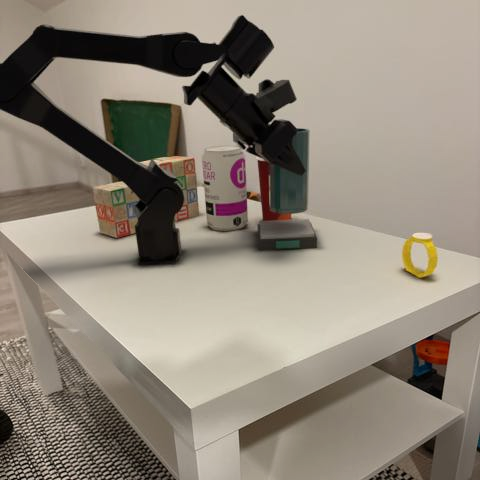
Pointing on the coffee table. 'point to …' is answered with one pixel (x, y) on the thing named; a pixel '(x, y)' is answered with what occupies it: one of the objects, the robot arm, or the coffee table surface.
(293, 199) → the ceramic cup
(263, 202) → the paper cup
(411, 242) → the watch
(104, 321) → the coffee table surface
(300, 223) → the scale
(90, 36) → the robot arm
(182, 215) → the stack of blocks
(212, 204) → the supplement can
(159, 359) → the coffee table surface
